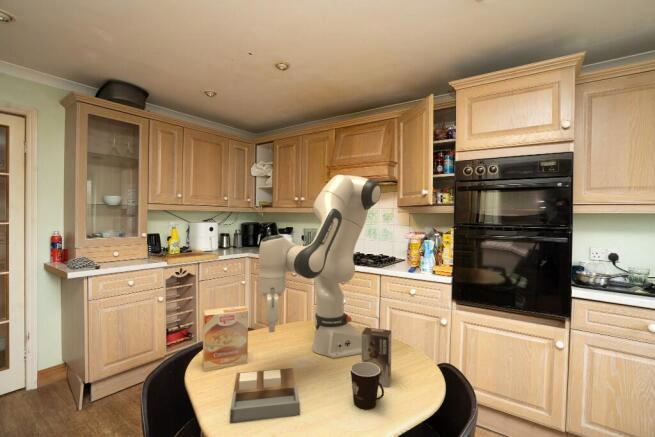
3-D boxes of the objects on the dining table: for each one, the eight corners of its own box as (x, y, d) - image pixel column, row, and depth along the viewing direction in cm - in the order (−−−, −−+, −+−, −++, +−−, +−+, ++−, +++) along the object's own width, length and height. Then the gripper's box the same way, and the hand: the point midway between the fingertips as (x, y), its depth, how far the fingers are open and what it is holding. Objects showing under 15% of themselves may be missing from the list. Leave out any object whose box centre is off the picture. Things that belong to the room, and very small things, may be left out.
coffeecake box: (203, 371, 108) (204, 315, 108) (202, 363, 114) (202, 309, 114) (248, 363, 114) (248, 310, 114) (244, 355, 121) (244, 304, 120)
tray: (296, 397, 93) (296, 385, 93) (299, 415, 85) (299, 402, 85) (233, 403, 90) (233, 391, 90) (230, 423, 81) (230, 409, 81)
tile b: (256, 379, 97) (257, 371, 97) (256, 388, 92) (256, 379, 92) (240, 381, 96) (240, 373, 96) (239, 390, 91) (239, 381, 91)
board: (292, 376, 105) (292, 367, 105) (296, 397, 93) (296, 387, 93) (236, 382, 101) (236, 372, 101) (233, 403, 90) (233, 393, 90)
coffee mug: (347, 395, 95) (348, 362, 95) (375, 394, 96) (376, 361, 95) (354, 420, 83) (354, 382, 83) (386, 418, 84) (386, 381, 84)
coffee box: (391, 378, 105) (392, 330, 105) (388, 387, 99) (389, 337, 99) (364, 373, 108) (365, 326, 108) (360, 382, 102) (361, 333, 102)
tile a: (279, 377, 99) (279, 369, 99) (280, 386, 94) (280, 377, 94) (263, 379, 98) (263, 371, 98) (263, 387, 93) (263, 379, 93)
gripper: (283, 292, 93) (283, 338, 94) (280, 278, 114) (279, 316, 114) (262, 292, 92) (261, 339, 92) (262, 279, 112) (261, 317, 112)
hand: (271, 327), depth 103 cm, fingers open, 7 cm apart
